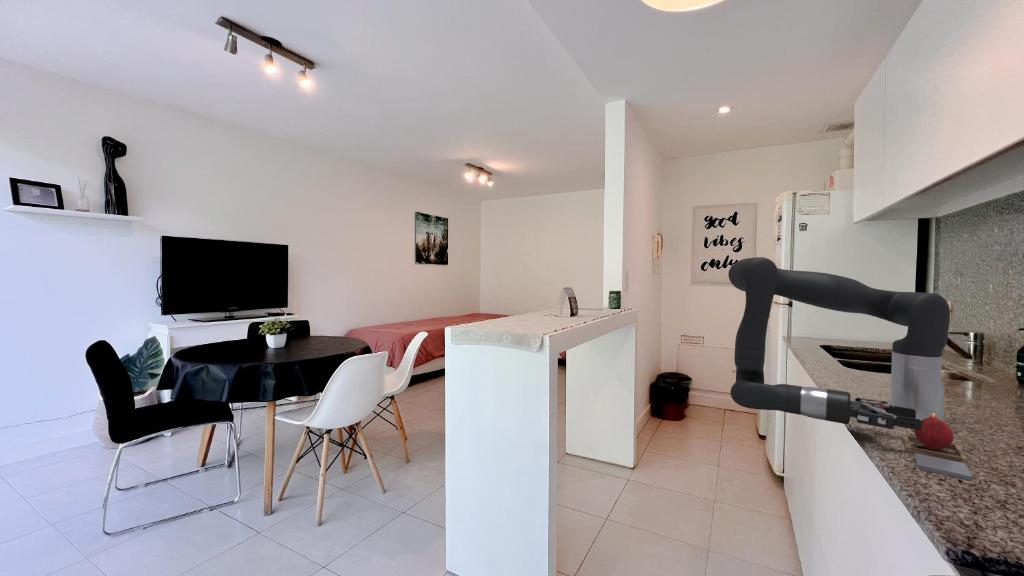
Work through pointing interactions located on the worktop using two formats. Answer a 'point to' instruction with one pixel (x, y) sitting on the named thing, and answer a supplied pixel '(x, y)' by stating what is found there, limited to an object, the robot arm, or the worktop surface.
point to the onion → (934, 433)
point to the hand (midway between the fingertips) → (918, 419)
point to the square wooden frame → (957, 448)
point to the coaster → (943, 466)
